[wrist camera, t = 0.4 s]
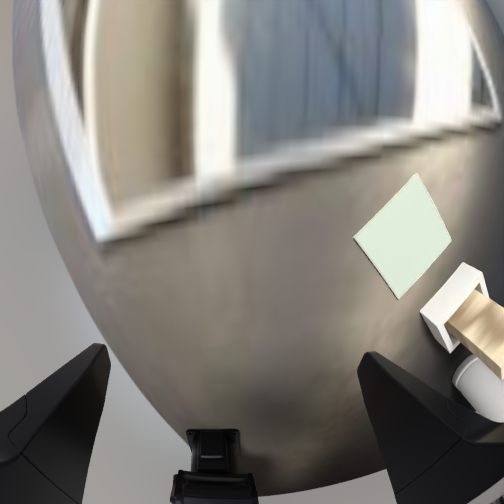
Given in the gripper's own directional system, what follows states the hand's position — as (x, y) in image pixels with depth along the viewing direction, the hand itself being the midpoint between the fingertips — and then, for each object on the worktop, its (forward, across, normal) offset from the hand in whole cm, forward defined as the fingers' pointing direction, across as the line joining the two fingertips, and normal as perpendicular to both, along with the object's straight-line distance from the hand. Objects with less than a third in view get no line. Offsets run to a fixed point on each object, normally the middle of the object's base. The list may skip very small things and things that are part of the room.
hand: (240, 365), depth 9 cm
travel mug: (+13, -39, +19) cm, 45 cm away
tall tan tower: (+14, -27, +6) cm, 31 cm away
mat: (+15, -17, -1) cm, 23 cm away
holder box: (+14, -27, +6) cm, 31 cm away
